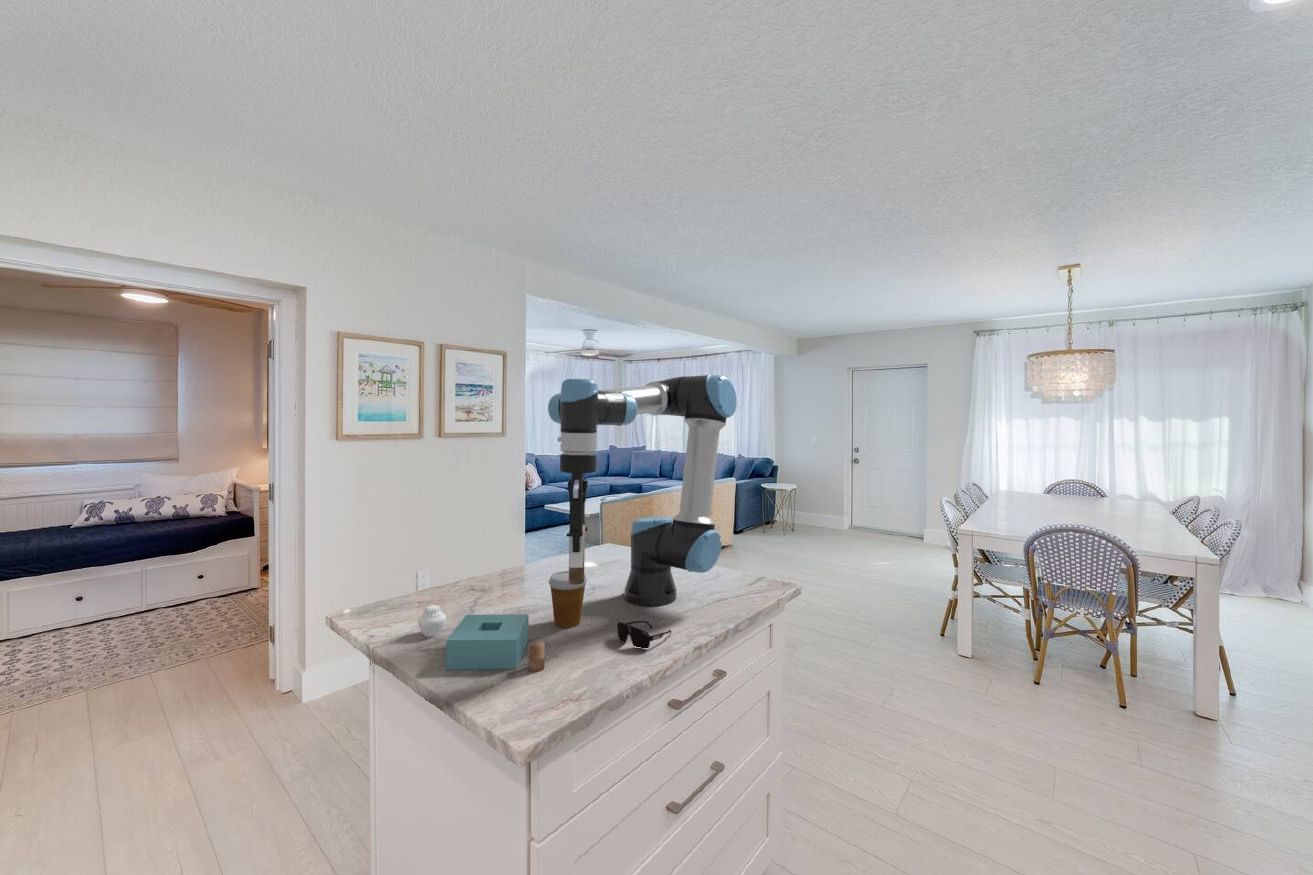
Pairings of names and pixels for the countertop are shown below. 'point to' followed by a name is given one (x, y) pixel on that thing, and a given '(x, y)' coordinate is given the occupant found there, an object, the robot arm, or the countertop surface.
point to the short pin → (536, 656)
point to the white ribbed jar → (431, 621)
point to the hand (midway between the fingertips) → (576, 564)
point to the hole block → (487, 642)
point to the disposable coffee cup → (566, 599)
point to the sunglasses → (636, 634)
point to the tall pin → (577, 573)
